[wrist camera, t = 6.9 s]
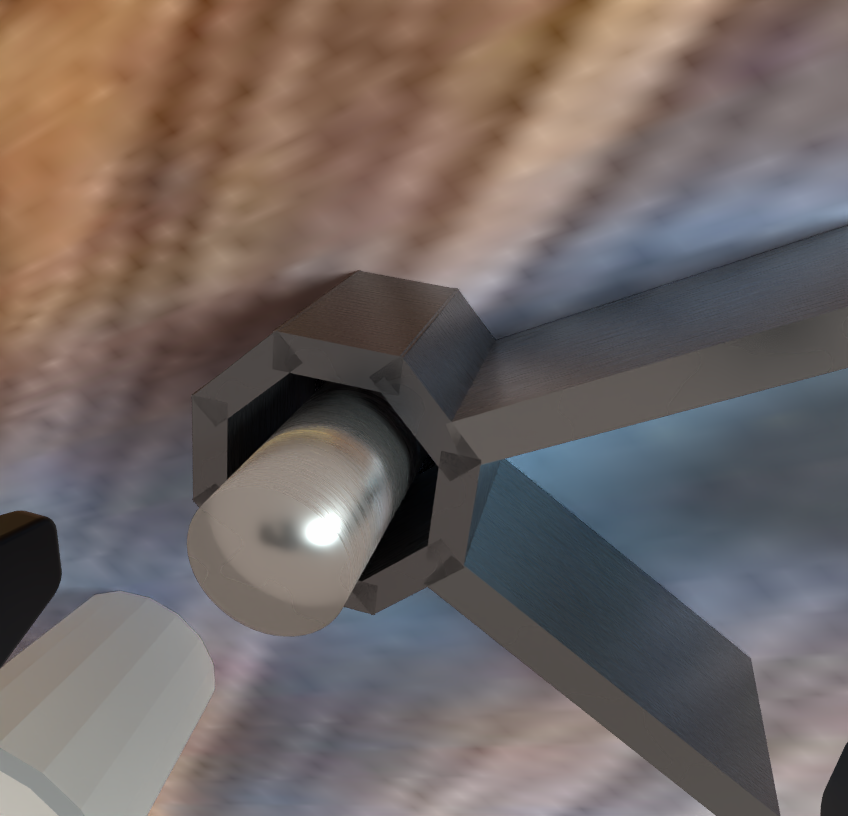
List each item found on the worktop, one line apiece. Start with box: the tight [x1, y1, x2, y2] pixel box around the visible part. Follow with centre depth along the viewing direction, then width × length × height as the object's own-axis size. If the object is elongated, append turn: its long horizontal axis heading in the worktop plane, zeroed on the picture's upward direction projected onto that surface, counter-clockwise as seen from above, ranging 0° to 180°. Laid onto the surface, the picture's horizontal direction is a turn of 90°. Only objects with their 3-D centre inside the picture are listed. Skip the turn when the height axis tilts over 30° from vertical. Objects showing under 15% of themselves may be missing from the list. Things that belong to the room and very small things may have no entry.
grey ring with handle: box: [191, 225, 848, 816], centre depth 17 cm, size 14×13×5 cm
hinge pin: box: [187, 381, 428, 636], centre depth 17 cm, size 3×3×8 cm
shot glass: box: [0, 591, 215, 816], centre depth 24 cm, size 7×7×7 cm
